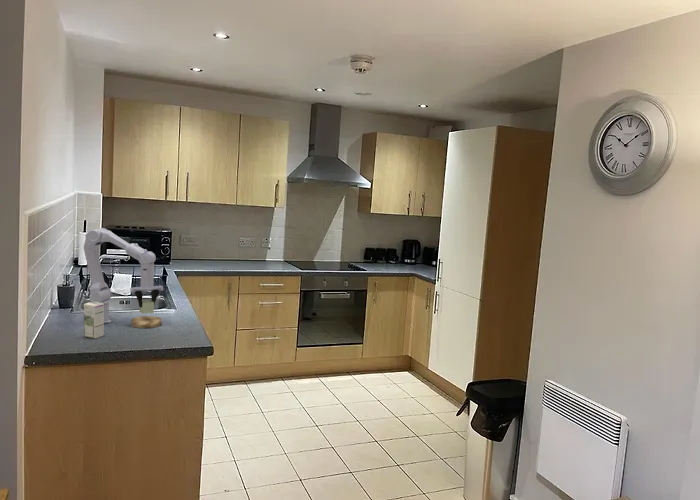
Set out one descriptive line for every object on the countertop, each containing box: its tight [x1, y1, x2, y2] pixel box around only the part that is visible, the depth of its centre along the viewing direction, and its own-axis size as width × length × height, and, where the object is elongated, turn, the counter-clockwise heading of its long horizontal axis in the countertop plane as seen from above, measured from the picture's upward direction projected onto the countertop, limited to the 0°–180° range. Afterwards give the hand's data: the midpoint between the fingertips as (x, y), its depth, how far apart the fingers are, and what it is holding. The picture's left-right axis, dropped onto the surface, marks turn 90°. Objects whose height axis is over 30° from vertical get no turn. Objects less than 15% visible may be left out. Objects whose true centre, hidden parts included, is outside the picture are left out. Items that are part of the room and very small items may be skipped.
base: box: [131, 315, 162, 329], centre depth 253 cm, size 13×13×2 cm
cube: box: [139, 300, 155, 314], centre depth 252 cm, size 5×5×5 cm
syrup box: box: [83, 301, 105, 339], centre depth 229 cm, size 6×6×14 cm
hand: (146, 306), depth 252 cm, fingers closed on cube, 5 cm apart
